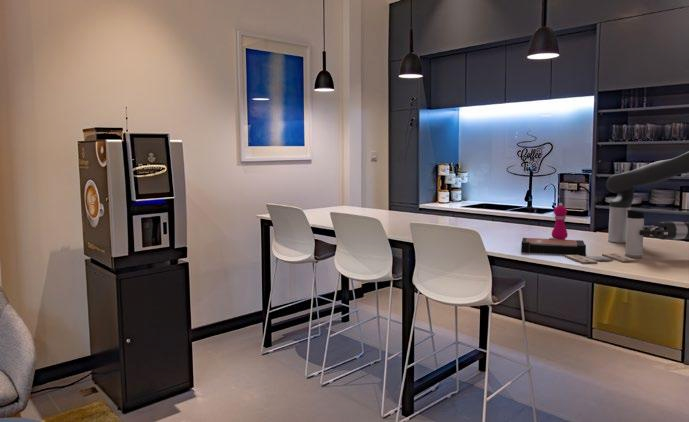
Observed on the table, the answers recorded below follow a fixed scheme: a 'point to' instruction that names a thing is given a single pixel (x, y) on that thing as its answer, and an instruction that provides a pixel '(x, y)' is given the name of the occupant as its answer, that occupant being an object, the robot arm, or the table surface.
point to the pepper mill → (560, 223)
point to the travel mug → (634, 234)
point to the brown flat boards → (600, 258)
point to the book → (553, 246)
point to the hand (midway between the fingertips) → (634, 231)
